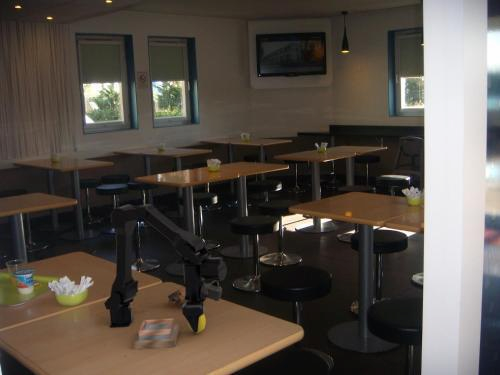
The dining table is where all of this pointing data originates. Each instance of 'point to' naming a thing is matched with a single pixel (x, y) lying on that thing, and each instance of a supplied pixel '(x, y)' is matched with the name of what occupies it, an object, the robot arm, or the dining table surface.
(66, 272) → the dining table surface
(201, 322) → the lemon
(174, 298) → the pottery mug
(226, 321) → the dining table surface
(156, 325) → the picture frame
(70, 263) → the dining table surface
